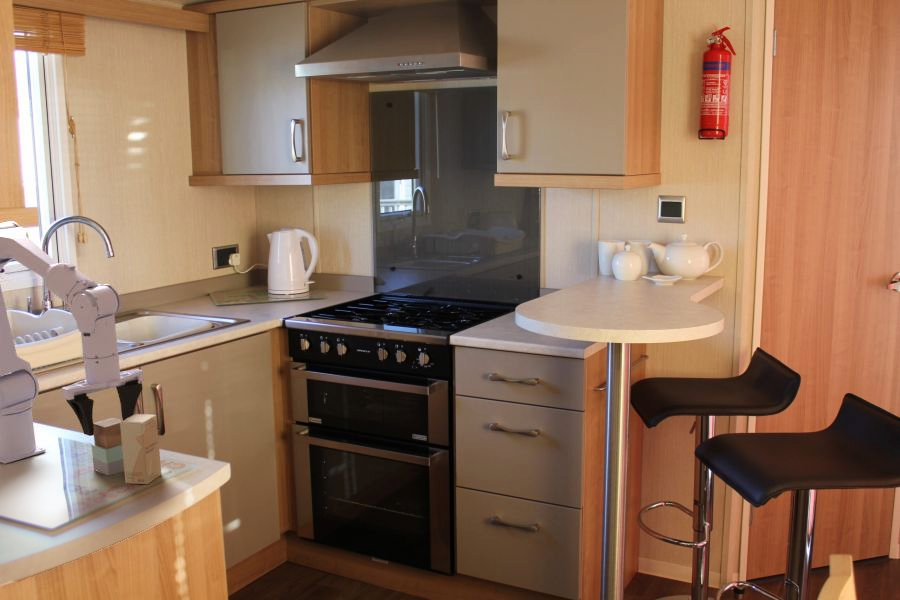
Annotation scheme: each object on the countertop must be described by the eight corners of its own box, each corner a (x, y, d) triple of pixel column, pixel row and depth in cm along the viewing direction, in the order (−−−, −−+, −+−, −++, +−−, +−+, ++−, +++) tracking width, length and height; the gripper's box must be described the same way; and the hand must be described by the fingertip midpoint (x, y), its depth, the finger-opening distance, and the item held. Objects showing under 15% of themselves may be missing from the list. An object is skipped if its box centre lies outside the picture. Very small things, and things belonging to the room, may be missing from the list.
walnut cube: (94, 444, 160) (92, 423, 159) (115, 438, 163) (112, 417, 162) (107, 448, 158) (104, 427, 157) (127, 442, 161) (125, 421, 160)
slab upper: (92, 457, 161) (91, 444, 160) (118, 449, 164) (117, 436, 164) (107, 463, 157) (105, 450, 157) (132, 455, 161) (131, 442, 161)
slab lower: (94, 471, 161) (92, 457, 161) (119, 462, 165) (117, 449, 164) (108, 477, 158) (107, 463, 157) (134, 468, 162) (133, 455, 161)
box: (147, 485, 153) (141, 423, 151) (124, 483, 154) (118, 422, 152) (162, 473, 158) (157, 413, 156) (140, 472, 159) (134, 412, 157)
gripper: (73, 366, 149) (82, 444, 152) (150, 349, 160) (157, 421, 163) (52, 361, 154) (61, 436, 156) (128, 344, 165) (135, 414, 167)
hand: (108, 428), depth 160 cm, fingers open, 7 cm apart
